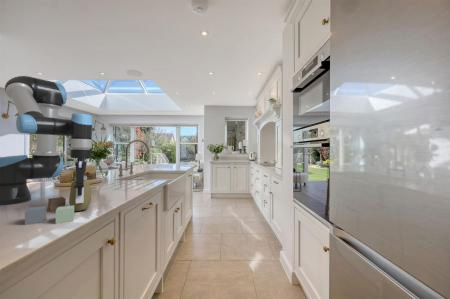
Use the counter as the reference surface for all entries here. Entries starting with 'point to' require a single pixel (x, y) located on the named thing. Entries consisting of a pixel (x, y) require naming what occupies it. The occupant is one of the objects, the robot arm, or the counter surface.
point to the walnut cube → (56, 203)
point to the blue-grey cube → (35, 215)
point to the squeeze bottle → (86, 196)
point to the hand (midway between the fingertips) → (80, 200)
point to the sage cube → (64, 214)
